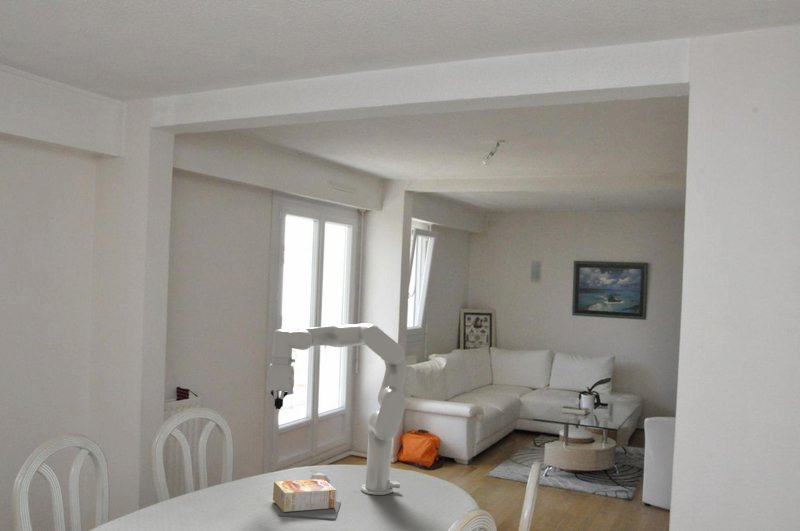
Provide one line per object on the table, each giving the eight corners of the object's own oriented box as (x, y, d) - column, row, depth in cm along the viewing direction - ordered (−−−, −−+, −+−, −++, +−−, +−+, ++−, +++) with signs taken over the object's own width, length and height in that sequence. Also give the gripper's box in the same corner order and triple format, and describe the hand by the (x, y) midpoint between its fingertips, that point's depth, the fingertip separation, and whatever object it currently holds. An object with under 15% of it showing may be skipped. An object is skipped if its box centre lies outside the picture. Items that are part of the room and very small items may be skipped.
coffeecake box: (273, 480, 261) (323, 478, 270) (272, 500, 261) (322, 496, 269) (285, 492, 248) (337, 489, 256) (283, 512, 248) (335, 508, 256)
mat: (340, 503, 264) (340, 501, 264) (335, 520, 246) (335, 518, 246) (287, 499, 264) (287, 498, 264) (278, 516, 246) (278, 514, 246)
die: (320, 504, 272) (334, 487, 270) (301, 494, 270) (315, 476, 268) (321, 491, 280) (335, 474, 277) (303, 480, 278) (317, 463, 275)
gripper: (302, 361, 277) (299, 408, 277) (264, 358, 278) (261, 405, 277) (299, 363, 270) (296, 411, 270) (260, 361, 270) (257, 409, 270)
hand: (278, 408), depth 274 cm, fingers closed
